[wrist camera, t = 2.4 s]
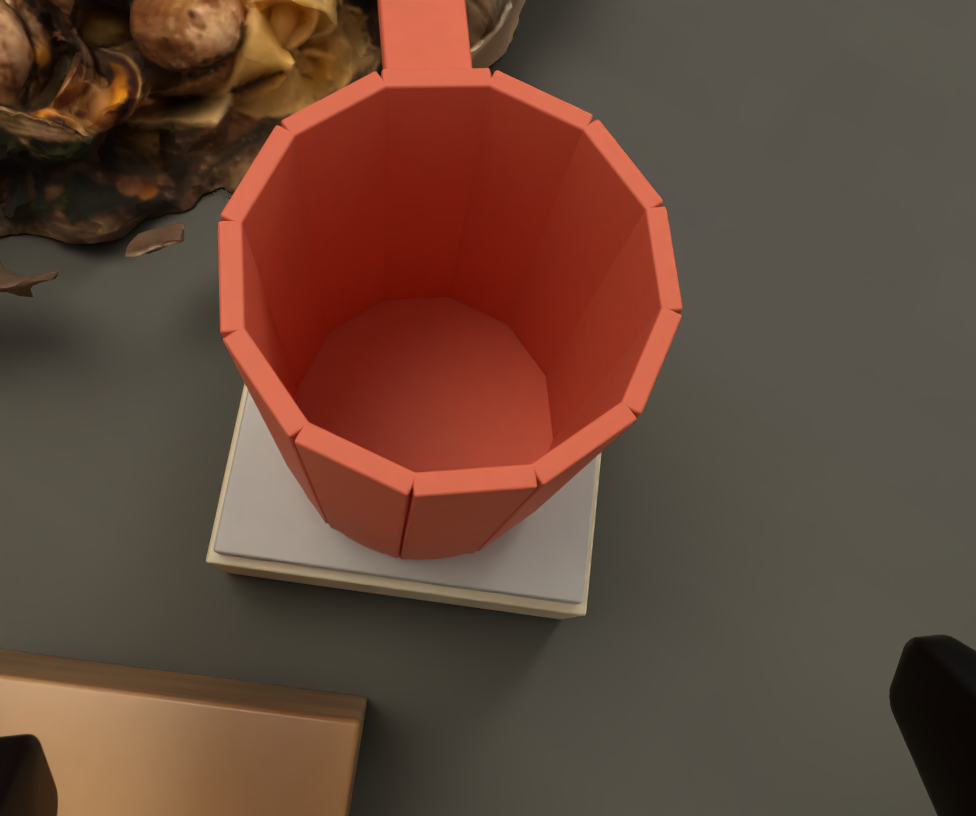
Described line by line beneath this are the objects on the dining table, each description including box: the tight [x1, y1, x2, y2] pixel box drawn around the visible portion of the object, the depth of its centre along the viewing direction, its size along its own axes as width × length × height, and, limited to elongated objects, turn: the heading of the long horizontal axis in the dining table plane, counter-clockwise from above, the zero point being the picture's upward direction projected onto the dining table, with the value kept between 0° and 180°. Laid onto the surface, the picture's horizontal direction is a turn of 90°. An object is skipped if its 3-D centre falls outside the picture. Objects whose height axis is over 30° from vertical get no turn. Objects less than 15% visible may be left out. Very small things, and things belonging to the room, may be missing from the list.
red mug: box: [218, 0, 683, 559], centre depth 15 cm, size 8×6×8 cm
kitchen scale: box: [206, 383, 601, 619], centre depth 20 cm, size 7×8×3 cm
